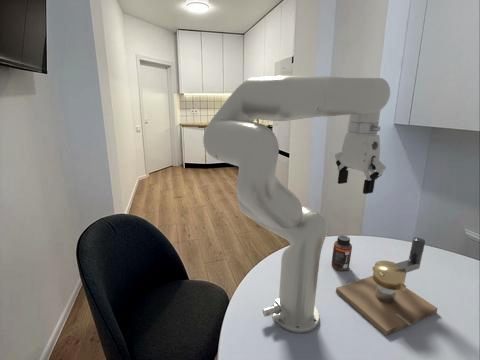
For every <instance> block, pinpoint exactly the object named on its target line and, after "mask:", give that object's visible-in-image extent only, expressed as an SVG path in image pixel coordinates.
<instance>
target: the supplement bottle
mask: <svg viewBox="0 0 480 360" xmlns="http://www.w3.org/2000/svg"><path fill="white" fill-rule="evenodd" d="M352 250H353V245H352V244H351V238H350V237H349V236H347V235H345V234H343V235H342V234H341V235H340V234H339V235H338V236H337V240H335V241H334V242H333V248H332V257H331V266H332V267H333V268H334V269H335V270H339V271H347V270H348V269H349V268H350V264H351V256H352Z"/></svg>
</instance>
